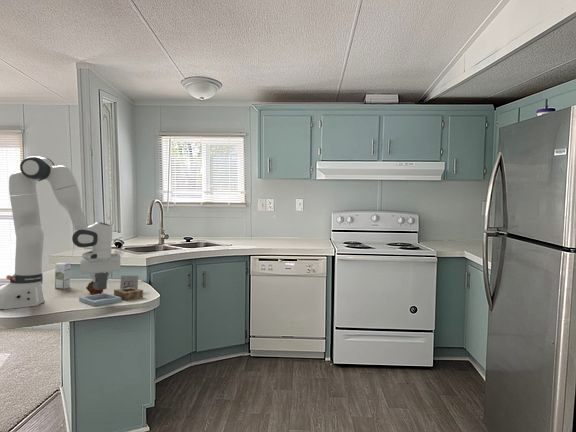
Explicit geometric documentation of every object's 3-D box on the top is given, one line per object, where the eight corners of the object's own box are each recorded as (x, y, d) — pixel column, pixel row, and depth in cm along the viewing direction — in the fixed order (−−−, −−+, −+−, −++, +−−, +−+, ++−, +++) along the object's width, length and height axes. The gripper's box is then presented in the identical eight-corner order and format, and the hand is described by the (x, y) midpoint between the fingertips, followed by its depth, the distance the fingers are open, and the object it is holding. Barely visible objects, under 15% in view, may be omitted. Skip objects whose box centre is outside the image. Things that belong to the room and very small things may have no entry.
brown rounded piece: (95, 299, 217) (92, 297, 227) (109, 288, 222) (105, 287, 232) (85, 286, 215) (82, 285, 225) (99, 276, 220) (96, 276, 230)
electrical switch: (119, 292, 229) (120, 275, 229) (121, 291, 234) (122, 275, 234) (137, 292, 231) (138, 276, 231) (138, 291, 236) (139, 275, 236)
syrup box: (70, 287, 236) (71, 262, 236) (63, 289, 230) (64, 263, 230) (61, 286, 237) (61, 261, 236) (54, 288, 231) (55, 263, 230)
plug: (97, 290, 204) (98, 274, 204) (93, 288, 206) (94, 272, 206) (106, 288, 207) (107, 273, 207) (101, 287, 210) (102, 272, 210)
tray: (94, 306, 197) (94, 302, 197) (79, 300, 206) (79, 297, 206) (121, 301, 209) (121, 297, 209) (106, 296, 217) (106, 292, 217)
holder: (125, 300, 210) (125, 293, 210) (113, 297, 217) (114, 289, 216) (142, 297, 219) (143, 290, 219) (131, 294, 225) (131, 287, 225)
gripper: (117, 252, 217) (115, 278, 217) (78, 254, 200) (77, 282, 201) (123, 253, 213) (122, 279, 213) (85, 255, 197) (83, 284, 197)
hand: (100, 281), depth 207 cm, fingers closed on plug, 4 cm apart
